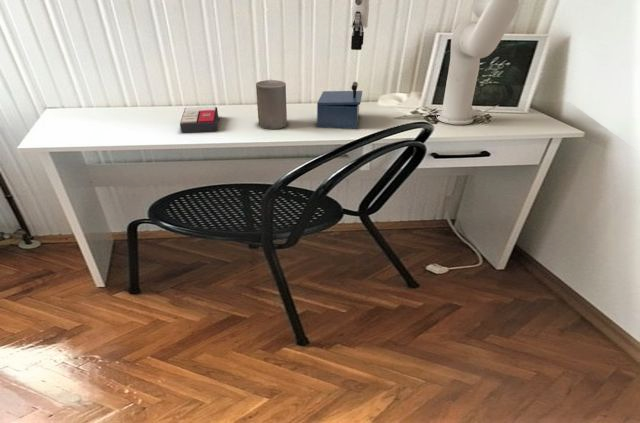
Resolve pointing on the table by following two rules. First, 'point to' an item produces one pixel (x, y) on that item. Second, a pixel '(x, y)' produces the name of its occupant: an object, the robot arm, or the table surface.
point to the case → (337, 116)
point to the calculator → (199, 119)
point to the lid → (341, 97)
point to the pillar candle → (271, 104)
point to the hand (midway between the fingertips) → (357, 47)
